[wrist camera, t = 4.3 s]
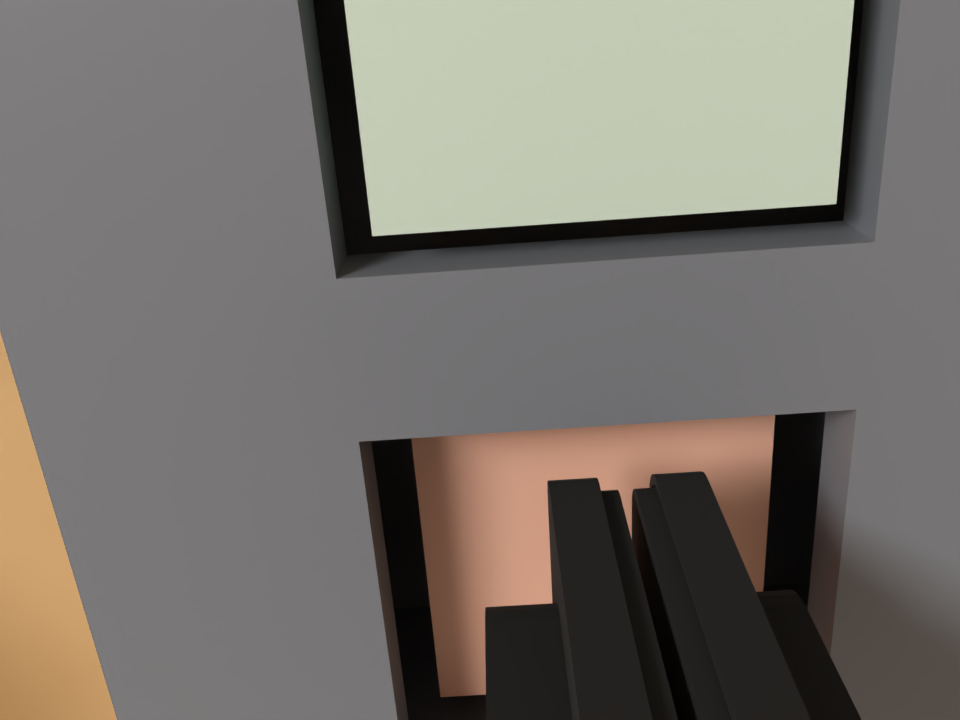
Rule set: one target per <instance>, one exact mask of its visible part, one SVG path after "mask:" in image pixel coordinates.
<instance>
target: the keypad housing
mask: <svg viewBox="0 0 960 720" xmlns="http://www.w3.org/2000/svg"><path fill="white" fill-rule="evenodd" d="M0 332H1V335H2V339H3V342H4V345H5V349H6V352H7V355H8V359H9V362H10V365H11V369H12V372H13V375H14V379H15V382H16V385H17V388H18V392H19V395H20V398H21V402H22V405H23V408H24V412H25V415H26V418H27V422H28V425H29V428H30V432H31V435H32V438H33V442H34V445H35V448H36V452H37V455H38V458H39V461H40V465H41V468H42V471H43V475H44V478H45V481H46V485H47V488H48V491H49V495H50V498H51V501H52V505H53V508H54V511H55V515H56V518H57V521H58V525H59V528H60V531H61V534H62V538H63V541H64V544H65V548H66V551H67V554H68V558H69V561H70V564H71V568H72V571H73V574H74V578H75V581H76V584H77V588H78V591H79V594H80V598H81V601H82V604H83V607H84V611H85V614H86V617H87V621H88V624H89V627H90V631H91V634H92V637H93V641H94V644H95V647H96V651H97V654H98V657H99V661H100V664H101V667H102V671H103V674H104V677H105V680H106V684H107V687H108V690H109V694H110V697H111V700H112V704H113V707H114V710H115V714H116V717H117V720H486V695H470V696H452V697H440V688H439V680H438V671H437V662H436V653H435V644H434V635H433V626H432V618H431V609H430V600H429V591H428V582H427V573H426V564H425V555H424V547H423V538H422V529H421V520H420V511H419V502H418V493H417V485H416V476H415V467H414V458H413V449H412V440H411V438H424V437H440V436H455V435H471V434H486V433H502V432H517V431H533V430H548V429H564V428H580V427H595V426H611V425H626V424H642V423H657V422H673V421H688V420H704V419H719V418H735V417H750V416H766V415H775V424H774V439H773V454H772V468H771V483H770V498H769V513H768V528H767V542H766V557H765V572H764V587H763V591H778V590H793V591H795V592H796V593H797V594H799V596H800V598H801V599H802V601H803V602H804V604H805V606H806V608H807V610H808V612H809V614H810V616H811V618H812V620H813V622H814V624H815V626H816V628H817V630H818V632H819V634H820V636H821V638H822V640H823V642H824V644H825V646H826V648H827V650H828V652H829V655H830V657H831V659H832V661H833V663H834V665H835V667H836V669H837V671H838V673H839V675H840V677H841V679H842V681H843V683H844V685H845V687H846V689H847V691H848V693H849V695H850V697H851V699H852V701H853V703H854V705H855V707H856V709H857V711H858V713H859V715H860V718H861V720H960V0H854V9H853V21H852V32H851V43H850V55H849V66H848V77H847V89H846V100H845V111H844V123H843V134H842V145H841V156H840V168H839V179H838V190H837V202H836V204H830V205H816V206H801V207H787V208H772V209H758V210H744V211H729V212H715V213H700V214H686V215H671V216H657V217H643V218H628V219H614V220H599V221H585V222H570V223H556V224H542V225H527V226H513V227H498V228H484V229H469V230H455V231H441V232H426V233H412V234H397V235H383V236H372V230H371V221H370V213H369V205H368V196H367V188H366V180H365V171H364V163H363V155H362V146H361V138H360V130H359V121H358V113H357V105H356V96H355V88H354V80H353V71H352V63H351V55H350V47H349V38H348V30H347V22H346V13H345V5H344V0H0Z"/></svg>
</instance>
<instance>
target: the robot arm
mask: <svg viewBox="0 0 960 720" xmlns="http://www.w3.org/2000/svg"><path fill="white" fill-rule="evenodd" d="M547 491H548V515H549V538H550V560H551V582H552V603H550V604H532V605H515V606H497V607H485V664H486V720H861V718H860V715H859V713H858V711H857V709H856V707H855V705H854V703H853V701H852V699H851V697H850V695H849V693H848V691H847V689H846V687H845V685H844V683H843V681H842V679H841V677H840V675H839V673H838V671H837V669H836V667H835V665H834V663H833V661H832V659H831V657H830V655H829V652H828V650H827V648H826V646H825V644H824V642H823V640H822V638H821V636H820V634H819V632H818V630H817V628H816V626H815V624H814V622H813V620H812V618H811V616H810V614H809V612H808V610H807V608H806V606H805V604H804V602H803V601H802V599H801V598H800V596H799V594H797V593H796V592H795V591H793V590H778V591H761V592H756V591H755V588H754V586H753V584H752V581H751V579H750V576H749V574H748V572H747V569H746V567H745V565H744V562H743V560H742V558H741V555H740V553H739V551H738V548H737V546H736V544H735V541H734V539H733V537H732V534H731V532H730V530H729V527H728V525H727V523H726V520H725V518H724V516H723V513H722V511H721V509H720V506H719V504H718V502H717V499H716V497H715V495H714V492H713V490H712V488H711V485H710V483H709V481H708V478H707V476H706V475H705V473H704V472H702V471H698V472H681V473H664V474H652V475H651V478H650V484H649V488H638V489H633V492H632V539H631V535H630V531H629V527H628V524H627V520H626V516H625V512H624V508H623V504H622V500H621V496H620V493H619V491H618V490H605V491H601V488H600V484H599V481H598V478H582V479H565V480H549V481H548V482H547Z"/></svg>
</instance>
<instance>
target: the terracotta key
mask: <svg viewBox="0 0 960 720" xmlns="http://www.w3.org/2000/svg"><path fill="white" fill-rule="evenodd" d="M774 424H775V415H766V416H750V417H735V418H719V419H704V420H688V421H673V422H657V423H642V424H626V425H611V426H595V427H580V428H564V429H548V430H533V431H517V432H502V433H486V434H471V435H455V436H440V437H424V438H411V440H412V449H413V458H414V467H415V476H416V485H417V493H418V502H419V511H420V520H421V529H422V538H423V547H424V555H425V564H426V573H427V582H428V591H429V600H430V609H431V618H432V626H433V635H434V644H435V653H436V662H437V671H438V680H439V688H440V697H452V696H470V695H486V664H485V607H497V606H515V605H532V604H550V603H552V582H551V560H550V538H549V515H548V491H547V482H548V481H549V480H565V479H582V478H598V481H599V484H600V488H601V491H605V490H618V491H619V493H620V496H621V500H622V504H623V508H624V512H625V516H626V520H627V524H628V527H629V531H630V535H631V539H632V492H633V489H638V488H649V484H650V478H651V475H652V474H664V473H681V472H698V471H702V472H704V473H705V475H706V476H707V478H708V481H709V483H710V485H711V488H712V490H713V492H714V495H715V497H716V499H717V502H718V504H719V506H720V509H721V511H722V513H723V516H724V518H725V520H726V523H727V525H728V527H729V530H730V532H731V534H732V537H733V539H734V541H735V544H736V546H737V548H738V551H739V553H740V555H741V558H742V560H743V562H744V565H745V567H746V569H747V572H748V574H749V576H750V579H751V581H752V584H753V586H754V588H755V591H756V592H761V591H763V587H764V572H765V557H766V542H767V528H768V513H769V498H770V483H771V468H772V454H773V439H774Z"/></svg>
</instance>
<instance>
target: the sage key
mask: <svg viewBox="0 0 960 720" xmlns="http://www.w3.org/2000/svg"><path fill="white" fill-rule="evenodd" d="M344 5H345V13H346V22H347V30H348V38H349V47H350V55H351V63H352V71H353V80H354V88H355V96H356V105H357V113H358V121H359V130H360V138H361V146H362V155H363V163H364V171H365V180H366V188H367V196H368V205H369V213H370V221H371V230H372V236H383V235H397V234H412V233H426V232H441V231H455V230H469V229H484V228H498V227H513V226H527V225H542V224H556V223H570V222H585V221H599V220H614V219H628V218H643V217H657V216H671V215H686V214H700V213H715V212H729V211H744V210H758V209H772V208H787V207H801V206H816V205H830V204H836V202H837V190H838V179H839V168H840V156H841V145H842V134H843V123H844V111H845V100H846V89H847V77H848V66H849V55H850V43H851V32H852V21H853V9H854V0H344Z"/></svg>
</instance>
